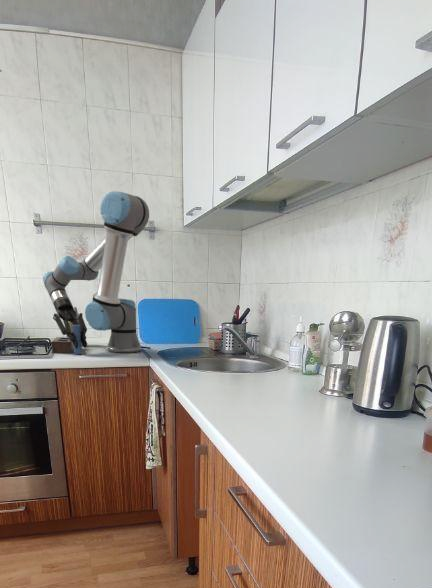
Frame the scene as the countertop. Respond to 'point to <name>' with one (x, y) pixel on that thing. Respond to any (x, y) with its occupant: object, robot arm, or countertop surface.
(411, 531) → the countertop surface
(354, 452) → the countertop surface
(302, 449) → the countertop surface
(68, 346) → the peg stand
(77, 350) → the peg
